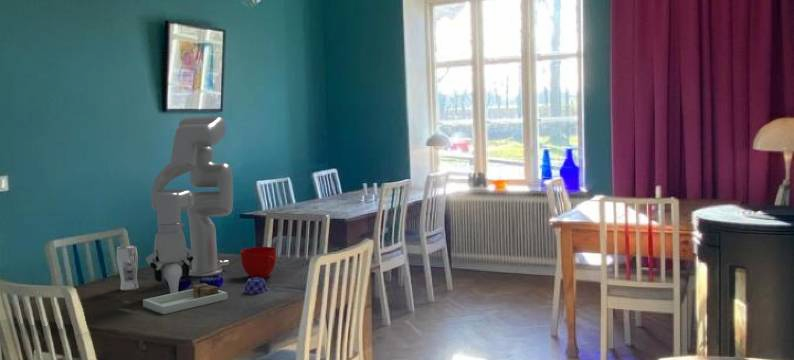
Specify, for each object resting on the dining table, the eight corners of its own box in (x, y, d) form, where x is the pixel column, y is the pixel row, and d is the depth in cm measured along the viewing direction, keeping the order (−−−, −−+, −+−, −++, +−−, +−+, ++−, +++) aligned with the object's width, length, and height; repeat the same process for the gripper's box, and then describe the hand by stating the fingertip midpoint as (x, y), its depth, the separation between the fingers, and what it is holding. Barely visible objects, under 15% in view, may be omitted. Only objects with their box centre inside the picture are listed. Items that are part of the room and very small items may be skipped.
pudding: (237, 292, 244) (236, 277, 244) (272, 288, 248) (271, 273, 247) (239, 300, 233) (238, 284, 233) (276, 296, 236) (275, 281, 236)
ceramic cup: (258, 284, 254) (257, 256, 253) (235, 277, 266) (233, 250, 266) (289, 277, 262) (288, 250, 261) (265, 271, 275) (264, 245, 274)
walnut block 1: (205, 294, 237) (204, 283, 237) (209, 297, 234) (209, 285, 234) (193, 297, 235) (192, 285, 235) (198, 299, 232) (197, 287, 232)
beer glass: (132, 291, 250) (129, 249, 248) (115, 290, 251) (111, 248, 250) (143, 286, 257) (140, 245, 255) (126, 286, 258) (123, 245, 257)
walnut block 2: (210, 297, 234) (209, 285, 233) (218, 298, 231) (217, 286, 231) (200, 300, 231) (200, 288, 230) (208, 301, 228) (208, 289, 228)
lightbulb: (187, 293, 244) (185, 261, 243) (176, 297, 238) (174, 265, 237) (172, 292, 246) (170, 260, 245) (161, 296, 240) (158, 264, 239)
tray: (206, 294, 241) (205, 286, 240) (227, 301, 231) (227, 292, 230) (143, 308, 225) (142, 299, 225) (163, 316, 215) (163, 307, 215)
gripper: (187, 225, 249) (190, 273, 250) (140, 230, 237) (143, 281, 238) (198, 226, 243) (201, 276, 244) (150, 232, 231) (153, 284, 232)
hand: (172, 278), depth 241 cm, fingers open, 9 cm apart
